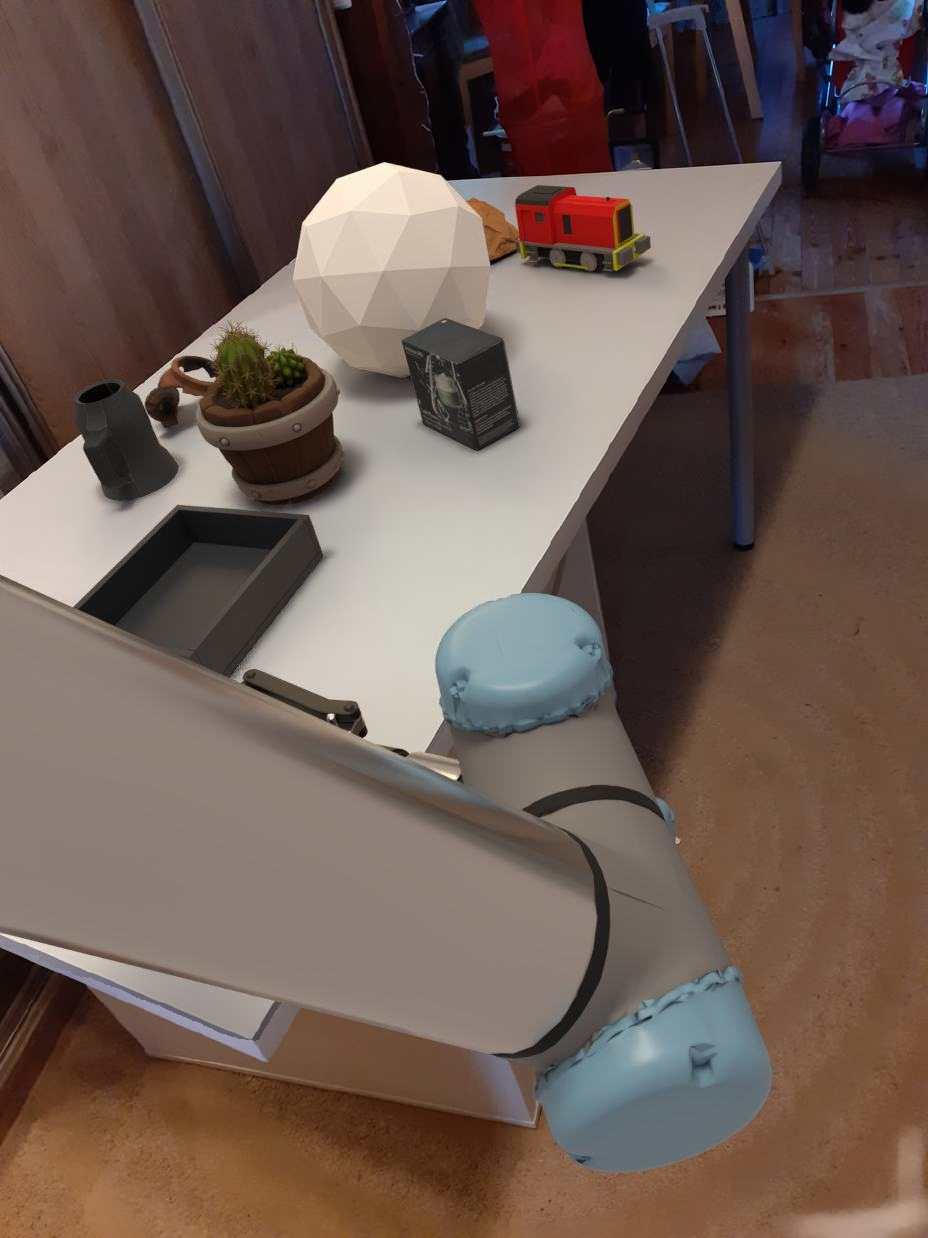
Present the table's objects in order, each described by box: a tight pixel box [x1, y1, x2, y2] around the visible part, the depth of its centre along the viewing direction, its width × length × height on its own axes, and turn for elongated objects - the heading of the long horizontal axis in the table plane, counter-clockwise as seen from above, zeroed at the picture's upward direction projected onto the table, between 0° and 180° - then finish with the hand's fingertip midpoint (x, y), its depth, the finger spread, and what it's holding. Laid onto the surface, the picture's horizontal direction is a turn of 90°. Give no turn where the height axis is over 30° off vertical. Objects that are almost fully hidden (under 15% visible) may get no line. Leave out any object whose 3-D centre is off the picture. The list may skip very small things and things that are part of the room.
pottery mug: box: [144, 355, 219, 428], centre depth 116 cm, size 12×10×8 cm
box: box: [401, 318, 521, 451], centre depth 99 cm, size 11×7×10 cm, turn 37°
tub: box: [72, 504, 324, 678], centre depth 83 cm, size 20×16×5 cm
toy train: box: [514, 184, 652, 272], centre depth 130 cm, size 7×19×10 cm, turn 47°
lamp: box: [292, 161, 491, 379], centre depth 116 cm, size 23×35×24 cm, turn 0°
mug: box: [73, 378, 179, 501], centre depth 103 cm, size 12×9×11 cm
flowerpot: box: [195, 319, 345, 506], centre depth 94 cm, size 14×15×20 cm
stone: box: [465, 197, 520, 262], centre depth 143 cm, size 15×15×10 cm
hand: (103, 750), depth 62 cm, fingers closed on container, 9 cm apart
